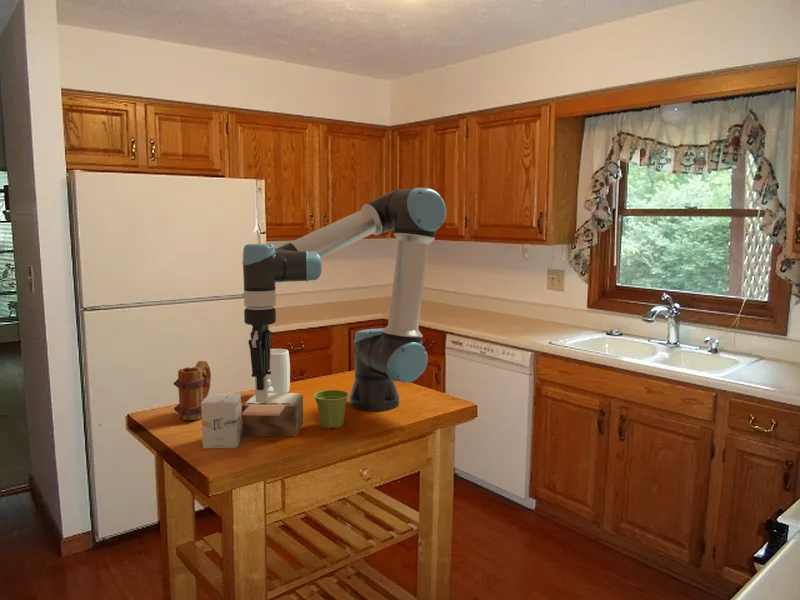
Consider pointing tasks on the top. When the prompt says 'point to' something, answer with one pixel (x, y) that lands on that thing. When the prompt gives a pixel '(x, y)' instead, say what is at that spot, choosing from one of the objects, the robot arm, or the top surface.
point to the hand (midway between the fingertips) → (261, 401)
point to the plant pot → (331, 407)
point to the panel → (264, 410)
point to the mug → (192, 390)
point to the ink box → (221, 420)
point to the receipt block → (275, 425)
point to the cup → (279, 370)
